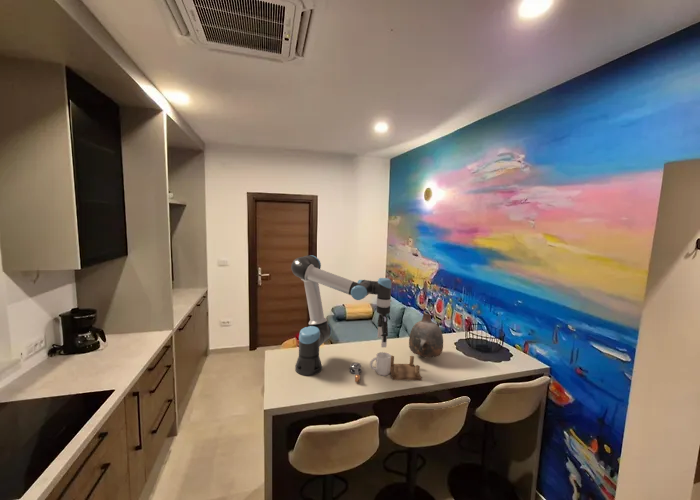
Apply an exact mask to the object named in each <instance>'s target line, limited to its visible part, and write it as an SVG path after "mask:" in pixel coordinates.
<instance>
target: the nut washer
mask: <svg viewBox="0 0 700 500" xmlns="http://www.w3.org/2000/svg"><path fill="white" fill-rule="evenodd" d="M349 373H350V374H352V375H355V372H354V371H351V370H350V368H349ZM358 373H359V375H360V374H362V369H361V370H360V371H358Z"/></svg>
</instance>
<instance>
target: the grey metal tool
mask: <svg viewBox="0 0 700 500" xmlns="http://www.w3.org/2000/svg"><path fill="white" fill-rule="evenodd" d="M349 366H350V367H349V369H350V370H351V371H354V372H355V374H354V382H355V383H360V381H361V375H360V374H359V373H358V371H360V370H362V365H361V363H359V362H352V363H350V365H349Z"/></svg>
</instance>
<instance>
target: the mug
mask: <svg viewBox="0 0 700 500" xmlns="http://www.w3.org/2000/svg"><path fill="white" fill-rule="evenodd" d="M374 362H375V363H376V364H375V367H374V366H373V363H374ZM369 367H370V369H371V370H373V371H375V373H376V374H377V375H378V376H379V375H380V376H384V377H385V376H389V375H391V374H390V367H391V354H390V353H388V352H383V351H382V352H381V351H380V352H377V354H376V356H375V357H373V358H372V359H371V360H370V363H369Z"/></svg>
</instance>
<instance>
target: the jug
mask: <svg viewBox="0 0 700 500" xmlns="http://www.w3.org/2000/svg"><path fill="white" fill-rule="evenodd" d="M408 347H409V350H410V351H411V352H412V353H413V354H415V355H418V356H421V357H423V358H437V357H439V356H440V355H441V354H442V353H443V349H444V337H443V332H442V330H441V328H440V322H437V323H436V322H434V321H432V316H431V314H429V313H426V311H423V316H422V319H421V320H419V321H418V322H416V323H414V325H413V327H412V328H411V331H410V333H409V338H408Z"/></svg>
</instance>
